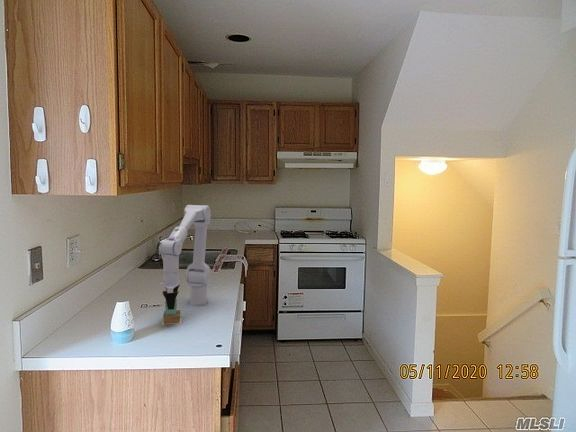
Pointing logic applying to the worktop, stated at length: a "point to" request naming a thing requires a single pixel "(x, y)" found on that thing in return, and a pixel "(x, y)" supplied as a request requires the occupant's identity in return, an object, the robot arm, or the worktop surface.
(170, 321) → the walnut slab
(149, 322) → the worktop surface
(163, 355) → the worktop surface
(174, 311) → the teal block
